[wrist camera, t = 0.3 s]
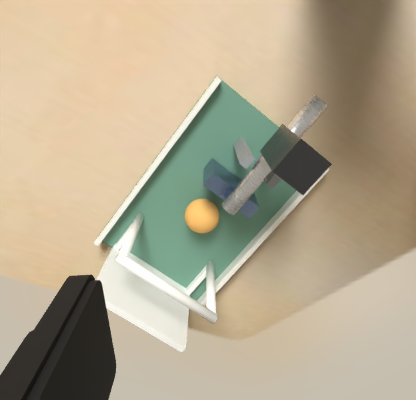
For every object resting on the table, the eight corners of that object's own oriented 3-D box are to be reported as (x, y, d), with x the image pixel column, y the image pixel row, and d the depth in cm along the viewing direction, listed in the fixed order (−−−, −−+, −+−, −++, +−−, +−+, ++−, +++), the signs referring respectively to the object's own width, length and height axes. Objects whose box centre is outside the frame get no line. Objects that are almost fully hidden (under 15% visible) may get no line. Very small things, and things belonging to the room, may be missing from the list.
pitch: (216, 76, 39) (220, 81, 28) (323, 163, 43) (363, 198, 32) (98, 235, 46) (65, 288, 35) (199, 300, 49) (198, 366, 39)
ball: (198, 187, 43) (198, 199, 39) (225, 206, 44) (227, 220, 40) (178, 212, 44) (176, 226, 40) (205, 230, 45) (205, 245, 41)
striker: (277, 75, 38) (320, 82, 24) (319, 110, 39) (382, 138, 25) (203, 168, 42) (202, 223, 27) (243, 198, 43) (262, 265, 29)
